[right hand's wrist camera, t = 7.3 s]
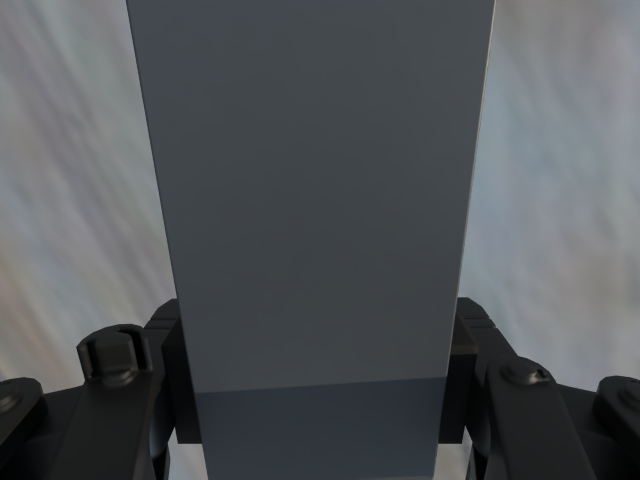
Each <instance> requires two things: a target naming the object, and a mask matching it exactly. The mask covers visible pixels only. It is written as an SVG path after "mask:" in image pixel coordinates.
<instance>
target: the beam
mask: <svg viewBox="0 0 640 480" xmlns="http://www.w3.org/2000/svg"><path fill="white" fill-rule="evenodd" d="M496 2H497V0H126V5H127V10H128V16H129V22H130V28H131V34H132V39H133V45H134V51H135V57H136V63H137V68H138V74H139V80H140V86H141V92H142V97H143V103H144V109H145V115H146V121H147V126H148V132H149V138H150V144H151V150H152V155H153V161H154V167H155V173H156V179H157V185H158V190H159V196H160V202H161V208H162V214H163V219H164V225H165V231H166V237H167V243H168V248H169V254H170V260H171V266H172V272H173V277H174V283H175V289H176V295H177V301H178V306H179V312H180V318H181V324H182V330H183V335H184V341H185V347H186V353H187V359H188V364H189V370H190V376H191V382H192V388H193V393H194V399H195V405H196V411H197V417H198V423H199V428H200V434H201V440H202V446H203V452H204V457H205V463H206V469H207V475H208V480H433V479H434V471H435V463H436V456H437V448H438V441H439V433H440V426H441V418H442V411H443V403H444V395H445V388H446V380H447V373H448V365H449V358H450V350H451V342H452V335H453V327H454V320H455V312H456V305H457V297H458V289H459V282H460V274H461V267H462V259H463V252H464V244H465V236H466V229H467V221H468V214H469V206H470V199H471V191H472V183H473V176H474V168H475V161H476V153H477V146H478V138H479V131H480V123H481V115H482V108H483V100H484V93H485V85H486V78H487V70H488V62H489V55H490V47H491V40H492V32H493V25H494V17H495V9H496Z"/></svg>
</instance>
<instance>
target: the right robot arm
mask: <svg viewBox="0 0 640 480" xmlns="http://www.w3.org/2000/svg"><path fill="white" fill-rule="evenodd" d="M76 348H77V352H78V356H79V359H80V363H81V367H82V370H83V374H84V378H85V382H84V384H83V385H82V386H78V387H74V388H70V389H65V390H61V391H56V392H51V393H47V394H44V393H43V390H42V387H41V384H40V383H39V382H38V381H37V380H35V379H32V378H25V377H22V378H15V379H9V380H5V381H3V382H0V480H168V477H169V468H170V453H169V447H168V441H169V439H170V436H171V434H172V432H173V429H174V427H175V430H176V435H177V441H178V444H202V440H201V434H200V428H199V423H198V417H197V411H196V405H195V399H194V393H193V388H192V382H191V376H190V370H189V364H188V359H187V353H186V347H185V341H184V335H183V330H182V324H181V318H180V312H179V306H178V301H177V299H171V300H169V301H168V302H166V303H165V304H163V305H162V306H160V307H159V308H158V309H157V310H156V312H155V313H154V314H153V316H152V317H151V320H150V321H148V323H147V324H146V325H145V327H144V328H142V327H141V326H138V325H134V324H118V325H114V326H109V327H105V328H103V329H100V330H98V331H96V332H93V333H92V334H90V335H89V336H87V337H86V338H84V339H83V340H82V341H81V342H80V343H79V344H78V346H77V347H76ZM465 426H466V428H467V430H468V433H469V435H470V437H471V440H472V447H471V453H470V458H469V463H468V469H467V474H466V480H471V478H472V480H640V380H637V379H634V378H631V377H624V376H610V377H605V378H604V379H603V380H601V381H600V382H599V386H598V389H597V392H592V391H587V390H582V389H578V388H573V387H568V386H564V385H561V384H557V383H556V381H555V379H554V378H553V377H552V375H551V374H550V372H549V371H548V370H546V369H545V368H544V367H542V366H541V365H540V364H538V363H536V362H534V361H532V360H529V359H527V358H524V357H520V356H518V355H517V354H516V353H515V351H514V350H513V348H512V347H511V346H510V344H509V343H508V342H507V340H506V339H505V338H504V336H503V335H502V334H501V332H500V331H499V329H498V328H496V325H495V324H494V323H493V321H492V320H491V319H489V316H488V315H487V313H486V312H485V310H484V309H483V308H482V306H480V305H479V304H477V303H476V302H474V301H473V300H471V299H470V298H468V297H457V305H456V312H455V320H454V327H453V335H452V342H451V350H450V358H449V365H448V373H447V380H446V388H445V395H444V403H443V411H442V418H441V426H440V433H439V441H438V444H462V440H463V434H464V428H465Z"/></svg>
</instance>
